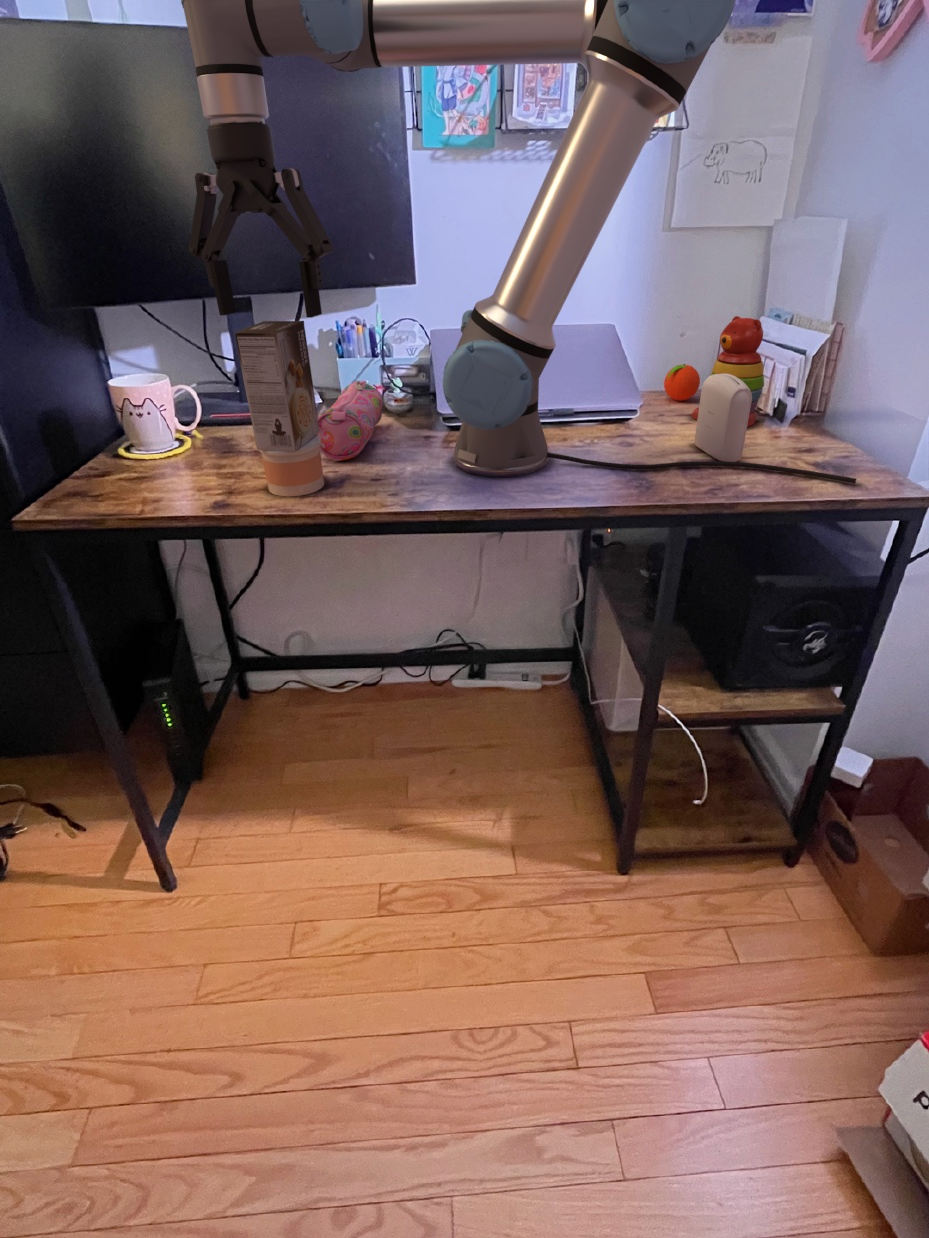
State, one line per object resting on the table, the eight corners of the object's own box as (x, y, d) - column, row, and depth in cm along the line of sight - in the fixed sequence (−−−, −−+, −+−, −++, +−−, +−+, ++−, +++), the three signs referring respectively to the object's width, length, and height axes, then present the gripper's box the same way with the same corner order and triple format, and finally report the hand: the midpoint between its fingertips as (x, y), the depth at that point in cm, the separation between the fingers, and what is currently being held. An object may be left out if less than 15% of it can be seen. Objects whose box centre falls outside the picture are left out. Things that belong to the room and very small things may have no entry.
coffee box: (282, 431, 108) (263, 319, 100) (321, 432, 107) (305, 320, 99) (255, 450, 101) (232, 331, 92) (297, 452, 100) (278, 332, 91)
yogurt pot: (337, 478, 110) (331, 434, 106) (307, 500, 103) (300, 454, 99) (286, 473, 113) (279, 430, 109) (253, 493, 105) (244, 448, 102)
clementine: (677, 407, 138) (682, 370, 134) (651, 400, 143) (655, 364, 139) (704, 400, 142) (710, 364, 138) (678, 394, 147) (682, 358, 143)
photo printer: (689, 444, 119) (700, 369, 113) (713, 442, 120) (725, 367, 113) (719, 464, 111) (733, 384, 104) (744, 462, 111) (759, 382, 105)
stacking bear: (687, 416, 133) (701, 315, 124) (732, 410, 136) (750, 311, 126) (721, 432, 124) (739, 325, 115) (769, 425, 127) (791, 320, 117)
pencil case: (341, 425, 134) (335, 377, 129) (388, 425, 133) (384, 376, 129) (313, 464, 116) (305, 409, 111) (367, 463, 115) (362, 408, 111)
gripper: (346, 118, 83) (365, 312, 94) (173, 130, 90) (210, 308, 102) (313, 114, 77) (338, 321, 88) (132, 128, 84) (176, 317, 96)
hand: (270, 315), depth 95 cm, fingers open, 13 cm apart
